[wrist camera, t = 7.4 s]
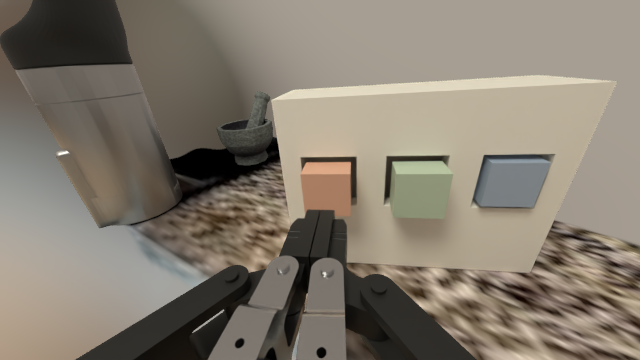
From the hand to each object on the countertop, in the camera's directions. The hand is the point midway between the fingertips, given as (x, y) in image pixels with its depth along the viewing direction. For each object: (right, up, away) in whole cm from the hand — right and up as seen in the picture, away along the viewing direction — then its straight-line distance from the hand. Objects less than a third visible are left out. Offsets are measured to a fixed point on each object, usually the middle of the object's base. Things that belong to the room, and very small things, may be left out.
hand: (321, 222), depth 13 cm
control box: (+7, -4, +10) cm, 13 cm away
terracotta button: (+1, 0, +4) cm, 4 cm away
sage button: (+6, 0, +3) cm, 7 cm away
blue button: (+13, +1, +4) cm, 13 cm away
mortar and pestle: (-13, +7, +34) cm, 37 cm away
